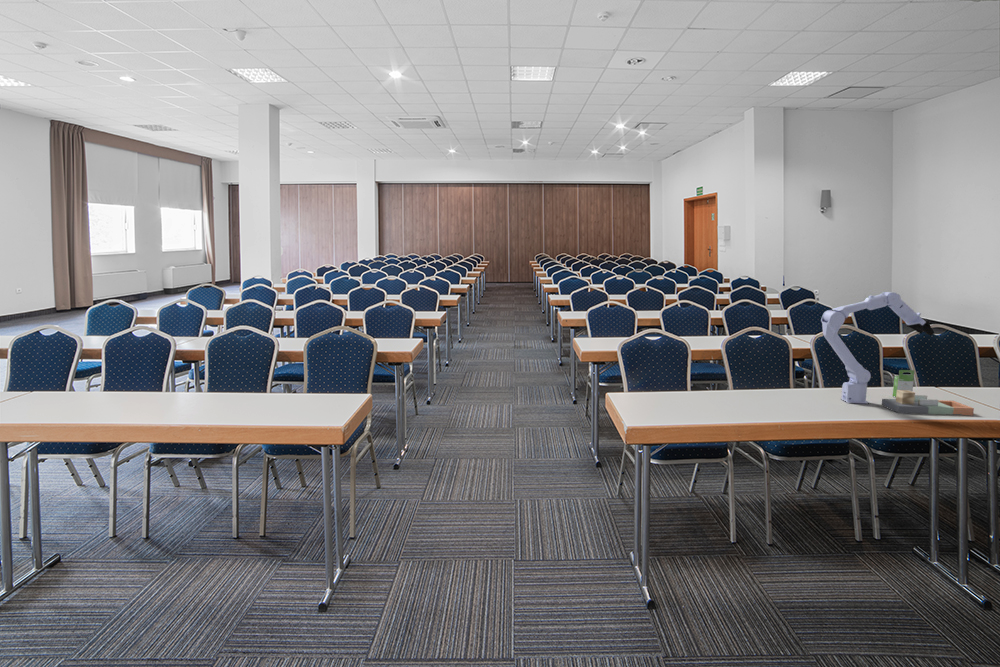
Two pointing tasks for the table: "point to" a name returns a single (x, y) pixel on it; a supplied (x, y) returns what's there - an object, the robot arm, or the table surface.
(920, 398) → the corridor walls
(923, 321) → the robot arm
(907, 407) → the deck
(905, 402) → the maple block
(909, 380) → the ink box
